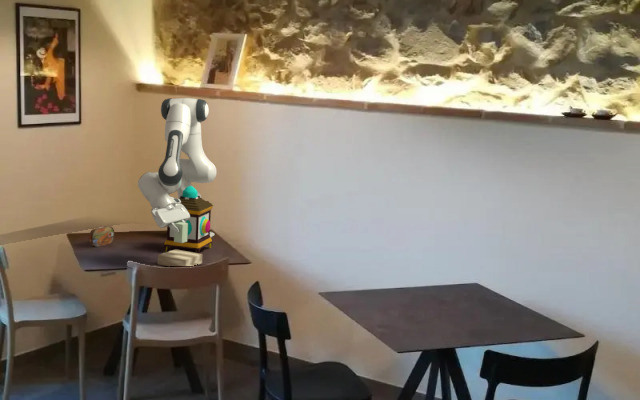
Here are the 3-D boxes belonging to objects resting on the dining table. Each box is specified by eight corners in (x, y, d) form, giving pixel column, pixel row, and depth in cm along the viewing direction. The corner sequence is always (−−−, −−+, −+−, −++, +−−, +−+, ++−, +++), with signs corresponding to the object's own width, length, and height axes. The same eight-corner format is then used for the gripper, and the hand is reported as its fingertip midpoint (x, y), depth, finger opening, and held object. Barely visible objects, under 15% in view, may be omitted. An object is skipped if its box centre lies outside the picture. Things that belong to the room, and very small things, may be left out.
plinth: (175, 258, 341) (175, 249, 340) (202, 263, 336) (202, 254, 335) (157, 264, 329) (157, 255, 329) (185, 269, 324) (185, 260, 323)
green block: (179, 240, 333) (180, 221, 332) (187, 241, 332) (187, 223, 331) (174, 241, 330) (174, 223, 328) (181, 243, 328) (182, 224, 327)
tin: (92, 248, 349) (93, 230, 348) (87, 247, 351) (87, 229, 349) (115, 242, 363) (115, 225, 361) (109, 241, 364) (110, 224, 363)
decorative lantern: (159, 252, 350) (160, 186, 345) (176, 243, 369) (178, 181, 364) (200, 257, 346) (202, 191, 341) (216, 247, 365) (218, 185, 360)
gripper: (153, 204, 321) (172, 230, 319) (181, 198, 340) (199, 223, 338) (144, 213, 324) (163, 239, 322) (172, 207, 342) (190, 231, 340)
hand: (182, 231), depth 330 cm, fingers closed on green block, 4 cm apart
